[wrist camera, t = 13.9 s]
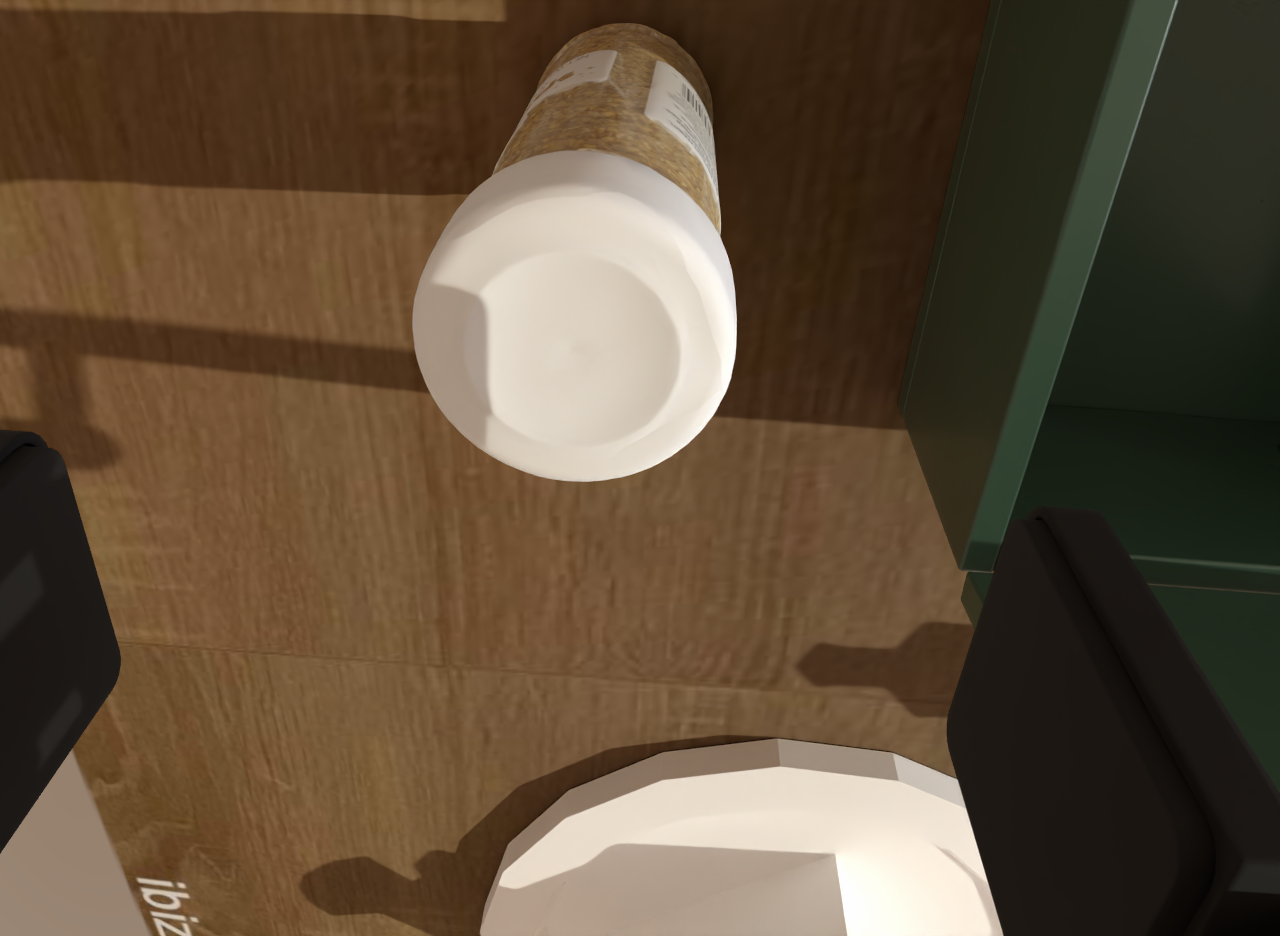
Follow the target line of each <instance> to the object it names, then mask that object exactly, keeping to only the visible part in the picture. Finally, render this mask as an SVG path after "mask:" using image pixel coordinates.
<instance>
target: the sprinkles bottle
mask: <svg viewBox="0 0 1280 936" xmlns="http://www.w3.org/2000/svg"><path fill="white" fill-rule="evenodd" d="M713 121H714V114H713V105H712V97H711V93H710V90H709V87H708V84H707V82H706V80H705V78H704V76H703V74H702V72H701V70H700V68H699V67H698V65H697V63H696V61H695V60H694V59H693V58H692V57H691V56H690V55H689V54H688V53H687V52H686V51H685V50H684V49H683V48H682V47H681V46H679V45H678V43H677V42H676V41H675V40H674V39H673V38H671V37H668V36H666V35H664V34H662V33H660V32H659V31H657V30H654V29H652V28H650V27H648V26H645V25H642V24H636V23H615V24H607V25H604V26H601V27H599V28H594V29H591V30H589V31H586V32H584V33H581V34H579V35H577V36H576V37H574V38H573V39H571V40H570V41H569V42H568V43H566V44H565V45H564V46H563V48H562V49H561V50H560V51H559V52H558V53H557V54H556V55H555V56H554V57H553V58H552V60H551V61H550V63H549V64H548V66H547V68H546V69H545V71H544V73H543V75H542V77H541V79H540V80H539V83H538V87H537V91H536V93H535V94H534V96H533V97H532V99H531V101H530V103H529V105H528V107H527V108H526V110H525V112H524V114H523V116H522V118H521V120H520V122H519V124H518V126H517V127H516V129H515V131H514V133H513V135H512V136H511V138H510V140H509V142H508V143H507V145H506V147H505V149H504V151H503V153H502V155H501V156H500V158H499V160H498V162H497V164H496V166H495V169H494V171H493V174H492V176H491V177H490V178H488V179H487V180H486V181H484V182H483V183H482V184H480V185H479V186H478V187H477V188H476V189H475V190H474V191H473V192H472V193H471V194H470V195H469V196H468V197H467V198H466V200H465V201H464V202H463V203H462V204H461V206H460V207H459V208H458V209H457V211H456V212H455V214H454V215H453V217H452V218H451V220H450V221H449V223H448V224H447V226H446V228H445V229H444V231H443V233H442V234H441V236H440V238H439V240H438V242H437V244H436V246H435V247H434V249H433V251H432V253H431V255H430V257H429V259H428V261H427V264H426V266H425V268H424V270H423V273H422V275H421V278H420V281H419V284H418V288H417V292H416V295H415V300H414V307H413V322H412V326H413V337H414V347H415V352H416V357H417V361H418V365H419V368H420V370H421V373H422V375H423V378H424V381H425V383H426V386H427V388H428V389H429V391H430V393H431V395H432V397H433V399H434V400H435V402H436V403H437V405H438V407H439V408H440V409H441V411H442V412H443V413H444V415H445V416H446V417H447V419H448V420H449V421H450V422H451V423H452V424H453V425H454V426H455V427H456V429H457V430H458V431H459V432H460V433H461V434H463V435H464V436H465V437H466V438H467V439H468V440H470V441H471V442H472V443H473V444H474V445H476V446H477V447H478V448H479V449H481V450H483V451H484V452H486V453H487V454H489V455H490V456H492V457H494V458H495V459H497V460H499V461H501V462H503V463H505V464H507V465H510V466H512V467H514V468H517V469H519V470H521V471H524V472H527V473H530V474H533V475H537V476H540V477H545V478H549V479H556V480H563V481H584V482H590V481H601V480H608V479H613V478H620V477H624V476H628V475H631V474H635V473H637V472H640V471H643V470H645V469H648V468H651V467H653V466H655V465H657V464H659V463H660V462H662V461H664V460H665V459H667V458H669V457H671V456H672V455H674V454H675V453H676V452H678V451H679V450H680V449H682V448H683V447H684V446H686V445H687V444H688V443H689V442H690V441H691V440H692V439H693V438H694V437H695V436H696V435H697V434H698V433H700V432H701V431H702V429H703V428H704V427H705V425H706V424H707V423H708V421H709V420H710V419H711V417H712V416H713V415H714V414H715V412H716V410H717V408H718V406H719V404H720V402H721V400H722V398H723V397H724V395H725V393H726V391H727V388H728V385H729V382H730V380H731V375H732V370H733V366H734V361H735V354H736V336H737V315H736V299H735V288H734V281H733V274H732V269H731V265H730V262H729V259H728V255H727V253H726V250H725V248H724V245H723V243H722V240H721V238H720V233H721V215H720V205H719V196H718V181H717V170H716V158H715V145H714V137H713Z"/></svg>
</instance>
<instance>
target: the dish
mask: <svg viewBox="0 0 1280 936" xmlns="http://www.w3.org/2000/svg"><path fill="white" fill-rule="evenodd" d="M480 935H481V936H1003V932H1002V929H1001V925H1000V922H999V919H998V915H997V912H996V908H995V905H994V902H993V898H992V895H991V891H990V888H989V885H988V881H987V878H986V874H985V871H984V868H983V864H982V861H981V858H980V854H979V851H978V847H977V844H976V841H975V837H974V834H973V830H972V827H971V824H970V820H969V817H968V813H967V810H966V807H965V803H964V800H963V796H962V793H961V790H960V786H959V783H958V780H957V779H955V778H952V777H950V776H947V775H945V774H943V773H940V772H938V771H935V770H933V769H931V768H928V767H926V766H923V765H921V764H919V763H916V762H914V761H911V760H909V759H907V758H904V757H902V756H899V755H897V754H895V753H891V752H883V751H875V750H867V749H859V748H851V747H843V746H834V745H826V744H818V743H810V742H802V741H794V740H786V739H778V738H777V739H769V740H761V741H752V742H744V743H736V744H727V745H719V746H711V747H702V748H694V749H686V750H677V751H669V752H662V753H660V754H657V755H655V756H652V757H650V758H647V759H645V760H642V761H640V762H637V763H635V764H633V765H630V766H628V767H625V768H623V769H620V770H618V771H615V772H613V773H610V774H608V775H605V776H603V777H600V778H598V779H595V780H593V781H590V782H588V783H585V784H583V785H580V786H578V787H575V788H573V789H571V790H568V791H567V792H566V793H565V794H564V795H563V796H562V797H561V798H559V799H558V800H557V801H556V802H555V803H554V804H553V805H551V806H550V807H549V808H548V809H547V810H546V811H545V812H544V813H542V814H541V815H540V816H539V817H538V818H537V819H536V820H535V821H533V822H532V823H531V824H530V825H529V826H528V827H527V828H526V829H524V830H523V831H522V832H521V833H520V834H519V835H518V836H516V837H515V838H514V839H513V840H512V841H511V842H510V843H509V844H508V846H507V848H506V851H505V853H504V856H503V859H502V861H501V864H500V866H499V869H498V872H497V874H496V877H495V879H494V882H493V885H492V887H491V890H490V893H489V895H488V898H487V900H486V903H485V907H484V913H483V918H482V923H481V928H480Z"/></svg>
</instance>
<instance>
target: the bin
mask: <svg viewBox="0 0 1280 936" xmlns="http://www.w3.org/2000/svg"><path fill="white" fill-rule="evenodd" d="M897 405H898V408H899V410H900V413H901V416H902V417H903V419H904V422H905V425H906V428H907V430H908V433H909V436H910V438H911V441H912V444H913V446H914V449H915V452H916V455H917V457H918V460H919V463H920V465H921V468H922V471H923V474H924V476H925V479H926V482H927V484H928V487H929V490H930V493H931V495H932V498H933V501H934V503H935V506H936V509H937V511H938V514H939V517H940V520H941V522H942V525H943V528H944V530H945V533H946V536H947V539H948V541H949V544H950V547H951V549H952V552H953V555H954V558H955V560H956V563H957V566H958V568H959V569H960V570H962V571H972V572H985V573H990V572H992V571H994V569H995V566H996V563H997V560H998V557H999V554H1000V551H1001V548H1002V544H1003V541H1004V538H1005V535H1006V532H1007V530H1008V527H1009V525H1010V524H1011V522H1012V521H1013V520H1015V519H1027V517H1028V515H1029V513H1030V512H1031V511H1032V509H1033V508H1035V507H1037V506H1051V507H1065V508H1078V509H1092V510H1096V511H1100V512H1101V513H1102V515H1103V516H1104V517H1105V518H1106V520H1107V521H1108V523H1109V524H1110V526H1111V527H1112V529H1113V531H1114V532H1115V534H1116V535H1117V537H1118V538H1119V540H1120V542H1121V543H1122V545H1123V546H1124V548H1125V550H1126V551H1127V553H1128V554H1129V556H1130V557H1131V559H1132V561H1133V562H1134V564H1135V565H1136V567H1137V568H1138V570H1139V572H1140V573H1141V575H1142V576H1143V578H1144V580H1145V581H1146V583H1147V584H1148V585H1158V586H1171V587H1185V588H1198V589H1211V590H1225V591H1238V592H1251V593H1265V594H1278V595H1280V0H991V2H990V7H989V11H988V15H987V20H986V24H985V28H984V32H983V37H982V41H981V45H980V50H979V54H978V58H977V63H976V67H975V71H974V76H973V80H972V84H971V89H970V93H969V97H968V101H967V106H966V110H965V114H964V119H963V123H962V127H961V132H960V136H959V140H958V145H957V149H956V153H955V158H954V162H953V166H952V171H951V175H950V179H949V183H948V188H947V192H946V196H945V201H944V205H943V209H942V214H941V218H940V222H939V227H938V231H937V235H936V240H935V244H934V248H933V253H932V257H931V261H930V265H929V270H928V274H927V278H926V283H925V287H924V291H923V296H922V300H921V304H920V309H919V313H918V317H917V322H916V326H915V330H914V335H913V339H912V343H911V347H910V352H909V356H908V360H907V365H906V369H905V373H904V378H903V382H902V386H901V391H900V395H899V399H898V404H897Z"/></svg>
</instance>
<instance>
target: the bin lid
mask: <svg viewBox="0 0 1280 936" xmlns="http://www.w3.org/2000/svg"><path fill="white" fill-rule="evenodd" d="M992 576H993V573H983V572H968V573H967V576H966V580H965V584H964V588H963V592H962V596H961V602H962V604H963V606H964V608H965V610H966V612H967V615H968V617H969V619H970V621H971V623H972V625H973V628H974V630H975V629H976V626H977V623H978V619H979V616H980V613H981V610H982V607H983V604H984V601H985V598H986V594H987V591H988V588H989V585H990V582H991V579H992ZM1148 586H1149V587H1150V589H1151V591H1152V592H1153V594H1154V595H1155V597H1156V598H1157V600H1158V602H1159V603H1160V605H1161V606H1162V608H1163V609H1164V611H1165V613H1166V614H1167V616H1168V617H1169V619H1170V621H1171V622H1172V624H1173V625H1174V627H1175V628H1176V630H1177V632H1178V633H1179V635H1180V636H1181V638H1182V639H1183V641H1184V643H1185V644H1186V646H1187V647H1188V649H1189V651H1190V652H1191V654H1192V655H1193V657H1194V658H1195V660H1196V662H1197V663H1198V665H1199V666H1200V668H1201V669H1202V671H1203V672H1204V674H1205V676H1206V677H1207V679H1208V680H1209V682H1210V684H1211V685H1212V687H1213V688H1214V690H1215V691H1216V693H1217V695H1218V696H1219V698H1220V699H1221V701H1222V702H1223V704H1224V706H1225V707H1226V709H1227V710H1228V712H1229V714H1230V715H1231V717H1232V718H1233V720H1234V721H1235V723H1236V725H1237V726H1238V728H1239V729H1240V731H1241V732H1242V734H1243V736H1244V737H1245V739H1246V740H1247V742H1248V744H1249V745H1250V747H1251V748H1252V750H1253V751H1254V753H1255V755H1256V756H1257V758H1258V759H1259V761H1260V762H1261V764H1262V766H1263V767H1264V769H1265V770H1266V772H1267V774H1268V775H1269V777H1270V778H1271V780H1272V781H1273V783H1274V785H1275V786H1276V788H1277V789H1278V791H1279V792H1280V595H1277V594H1264V593H1251V592H1237V591H1224V590H1211V589H1197V588H1184V587H1170V586H1157V585H1148Z"/></svg>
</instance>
